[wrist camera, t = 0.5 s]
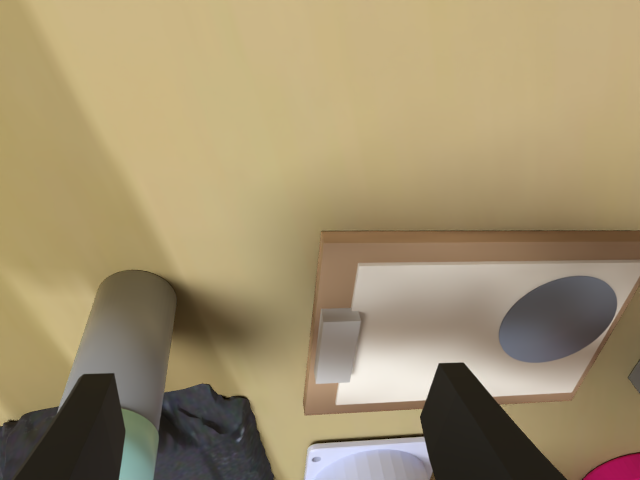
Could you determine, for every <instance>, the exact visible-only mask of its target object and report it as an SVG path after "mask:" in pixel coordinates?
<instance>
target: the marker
mask: <svg viewBox="0 0 640 480" xmlns="http://www.w3.org/2000/svg"><path fill="white" fill-rule="evenodd" d="M176 304H177V298H176V294H175V291H174V290H173V288H172V287H171V285H170V284H169V283H168V282H167V281H165V280H164V279H163V278H161V277H159V276H157V275H155V274H152V273H149V272H145V271H139V270H127V271H121V272H118V273H115V274H113V275H111V276H109V277H108V278H106V279H105V280H104V281H103V282H102V283H101V284H100V286H99V288H98V291H97V294H96V297H95V300H94V303H93V306H92V309H91V312H90V315H89V318H88V321H87V324H86V327H85V330H84V333H83V336H82V339H81V342H80V345H79V348H78V351H77V354H76V357H75V360H74V363H73V366H72V369H71V372H70V375H69V378H68V381H67V384H66V387H65V390H64V393H63V396H62V399H61V402H60V405H59V408H58V411H59V410H60V408H61V407H62V405H63V403H64V402H65V400H66V399H67V397H68V395H69V394H70V392H71V390H72V389H73V387H74V385H75V384H76V382H77V380H78V379H79V377H81V376H82V375H83V374H99V373H114V374H115V379H116V384H117V390H118V395H119V400H120V405H121V410H122V415H123V420H124V425H125V430H126V433H125V440H124V448H123V455H122V462H121V469H120V476H119V480H153V478H154V471H155V463H156V456H157V449H158V442H159V435H158V431H159V424H160V417H161V410H162V403H163V396H164V389H165V381H166V374H167V367H168V360H169V353H170V346H171V339H172V332H173V325H174V318H175V311H176ZM57 413H58V412H57Z"/></svg>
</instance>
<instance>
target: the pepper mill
mask: <svg viewBox="0 0 640 480" xmlns="http://www.w3.org/2000/svg"><path fill="white" fill-rule="evenodd" d="M583 480H640V453H637V454H630V455H626V456H622V457H619V458H616V459H613V460H610V461H608V462H606V463H604V464H602V465H600V466H598V467H597V468H595V469H594V470H593V471H591V472H590V473H588V474H587V475H586V476H585V478H584V479H583Z"/></svg>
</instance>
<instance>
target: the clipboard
mask: <svg viewBox="0 0 640 480" xmlns="http://www.w3.org/2000/svg"><path fill="white" fill-rule="evenodd" d="M639 286H640V231H321V238H320V248H319V257H318V267H317V276H316V286H315V295H314V304H313V314H312V323H311V333H310V342H309V352H308V361H307V370H306V380H305V389H304V399H303V406H304V414H305V415H322V414H339V413H357V412H375V411H393V410H411V409H423V407H424V404H425V402H426V399H427V396H428V393H429V390H430V387H431V384H432V381H433V378H434V376H435V373H436V370H437V367H438V364H439V363H458V362H464V363H465V365H466V366H467V367H468V368H469V369H470V370H471V372H472V373H473V374H474V375H475V376H476V378H477V379H478V380H479V381H480V382H481V384H482V385H483V386H484V387H485V388H486V390H487V391H488V392H489V393H490V394H491V396H492V397H493V398H494V399H495V400H496V402H497V403H498V404H499V405H500V404H517V403H535V402H553V401H571V400H572V399H573V397H574V396H575V394H576V392H577V390H578V389H579V387H580V385H581V384H582V382H583V380H584V379H585V377H586V375H587V374H588V372H589V370H590V368H591V367H592V365H593V363H594V362H595V360H596V358H597V357H598V355H599V353H600V352H601V350H602V348H603V346H604V345H605V343H606V341H607V340H608V338H609V336H610V335H611V333H612V331H613V330H614V328H615V326H616V324H617V323H618V321H619V319H620V318H621V316H622V314H623V313H624V311H625V309H626V308H627V306H628V304H629V302H630V301H631V299H632V297H633V296H634V294H635V292H636V291H637V289H638V287H639Z"/></svg>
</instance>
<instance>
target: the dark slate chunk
mask: <svg viewBox="0 0 640 480" xmlns="http://www.w3.org/2000/svg"><path fill="white" fill-rule="evenodd" d="M58 408H59V406H58V407H54V408H49V409H43V410H38V411H33V412H30V413H27V414H24V415H23V416H22V417H21V418H20V419H19V421H15V422H5V423H4V424H3V427H2V426H1V427H0V480H11V479H12V478H13V476H14V475H15V474H16V472H17V471H18V469H19V468H20V467H21V465H22V464H23V462H24V461H25V460H26V458H27V457H28V455H29V454H30V453H31V451H32V450H33V448H34V447H35V445H36V444H37V443H38V441H39V440H40V438H41V437H42V435H43V434H44V432H45V431H46V429H47V428H48V426H49V425H50V423H51V422H52V420H53V419H54V417H55V416H56V414H57V412H58ZM158 435H159V442H158V449H157V456H156V463H155V471H154V478H153V480H273V478H274V475H273V474H272V472H271V467H270V463H269V461H268V459H267V456H266V454H265V449H264V447H263V445H262V443H261V440H260V435H259V432H258V430H257V428H256V422H255V416H254V414H253V413H252V411H251V408H250V404H249V400H248V399H245V398H241V397H237V396H232V397H230V398H229V399H223V398H222V396H221V395H218V394H217V393H216V392H215V391H214V390H213V389H212V388H211V386H210V385H209V384H199V385H196V386H193V387H189V388H186V389H183V390H177V391H171V392H165V393H164V396H163V403H162V410H161V417H160V424H159V431H158Z"/></svg>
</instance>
